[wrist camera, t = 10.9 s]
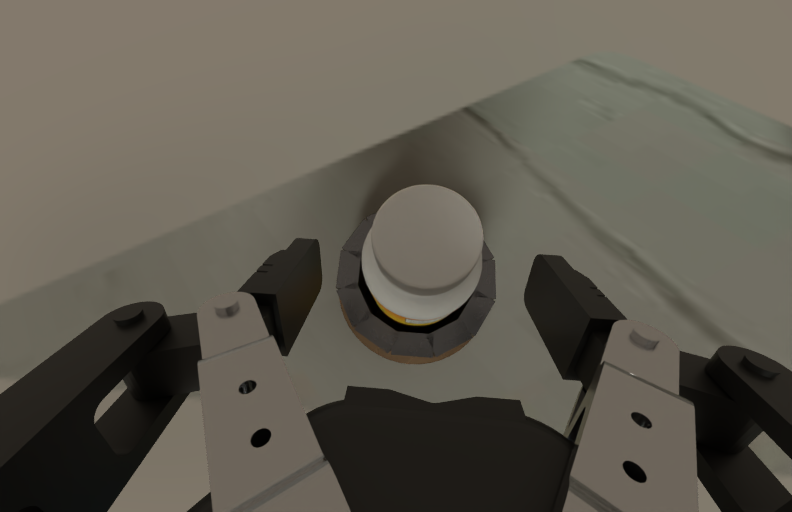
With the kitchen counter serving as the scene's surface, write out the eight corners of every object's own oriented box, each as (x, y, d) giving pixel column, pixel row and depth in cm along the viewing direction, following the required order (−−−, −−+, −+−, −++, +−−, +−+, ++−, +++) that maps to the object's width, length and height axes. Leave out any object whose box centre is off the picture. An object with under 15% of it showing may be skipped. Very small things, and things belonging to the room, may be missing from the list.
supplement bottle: (367, 256, 20) (339, 180, 11) (444, 241, 21) (480, 154, 11) (382, 336, 19) (363, 326, 9) (464, 319, 19) (525, 293, 10)
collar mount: (484, 225, 22) (502, 199, 18) (486, 369, 19) (508, 374, 15) (350, 216, 22) (339, 190, 18) (332, 357, 19) (316, 360, 16)
